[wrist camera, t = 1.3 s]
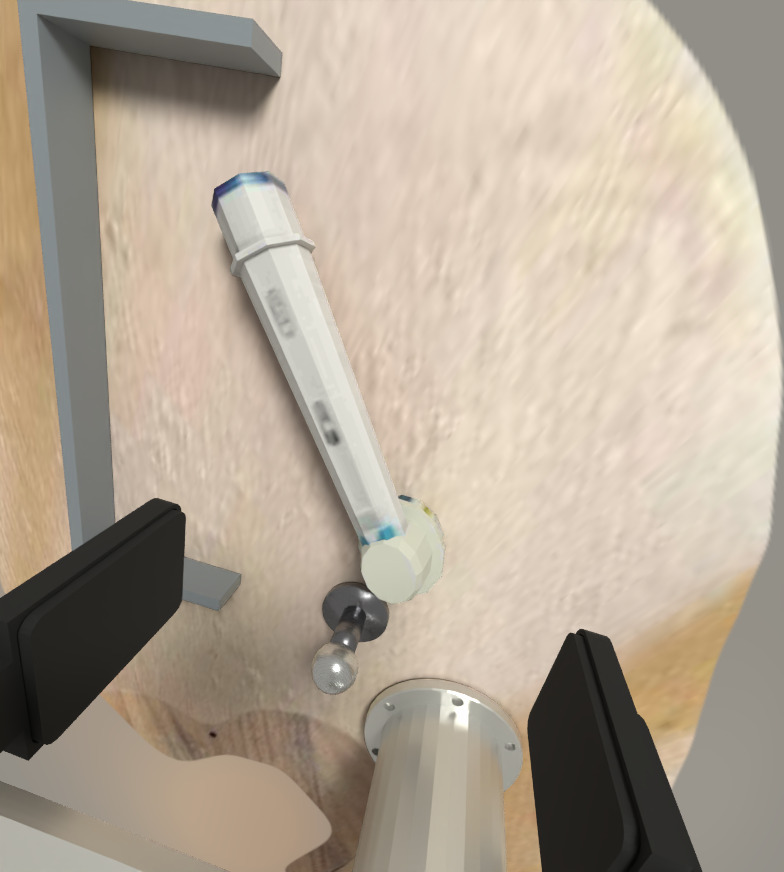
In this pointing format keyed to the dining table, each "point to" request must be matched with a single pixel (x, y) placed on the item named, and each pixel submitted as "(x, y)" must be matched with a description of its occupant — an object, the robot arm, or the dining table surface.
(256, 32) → the bay
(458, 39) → the dining table surface
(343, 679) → the ball stud
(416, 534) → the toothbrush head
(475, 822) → the robot arm
